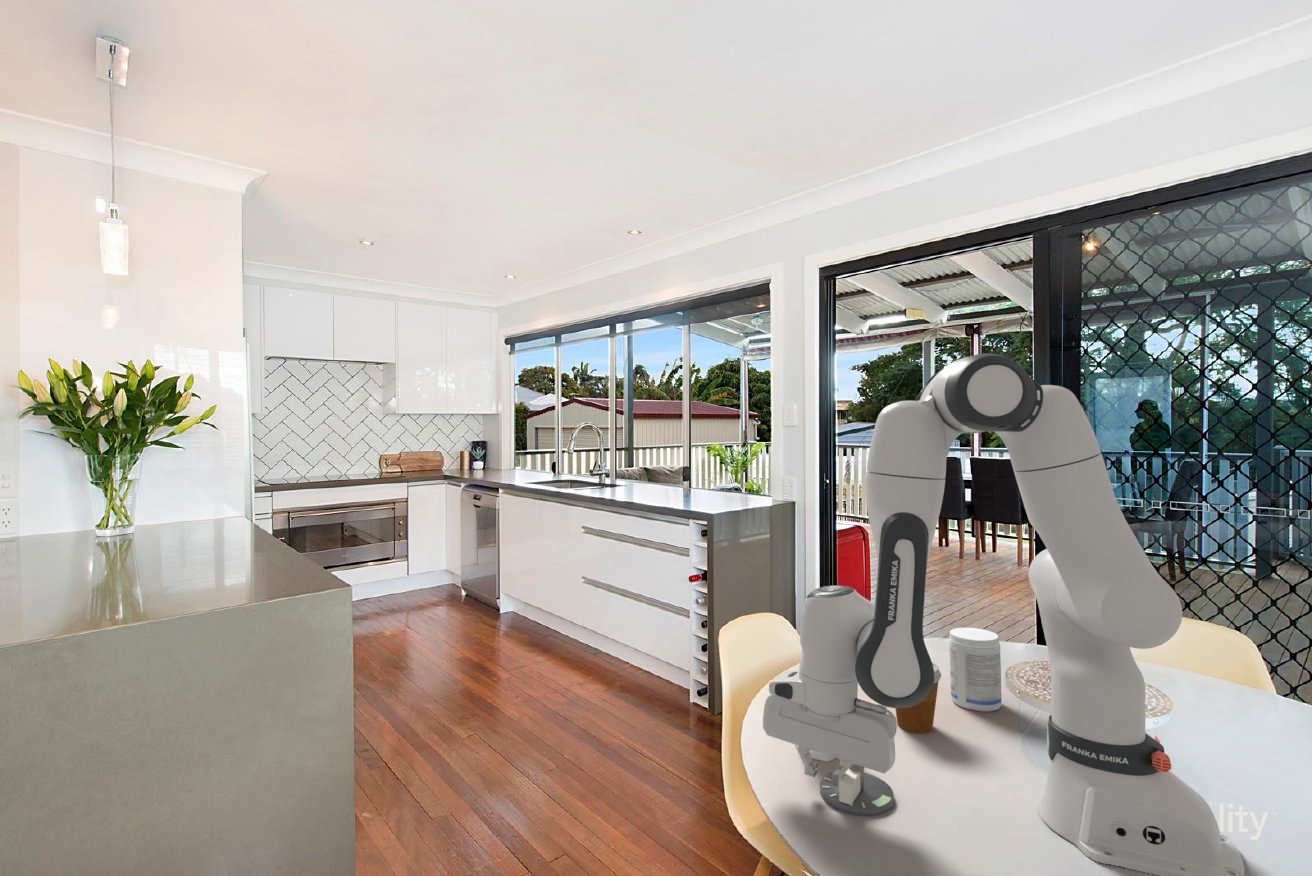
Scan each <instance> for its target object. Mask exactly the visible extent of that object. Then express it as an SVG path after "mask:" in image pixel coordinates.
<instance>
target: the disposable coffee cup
mask: <svg viewBox="0 0 1312 876" xmlns="http://www.w3.org/2000/svg"><path fill="white" fill-rule="evenodd" d="M932 664H933V668H934V684H933V687H932V689H931V691H930V693H929V694H928V696H927V697H926V698H925V699H924V700H923V701H921V702H920V703H918V704H916V705H914V706H911V707H907V708H894V709H895V715H896V716H895V717H896V721H897V727H899V729H901V730H903V731H905V732H908V733H912V734H921V735H923V734H930V733H931V732H932V731H933V728H934V721H935V713H936V712H935V711H936V703H937V696H938V690H939V689H938V688H939V681H940V680H941V678H942V673H941V671H940V669H939V665H937V664H936V663H935V662H933V661H932Z"/></svg>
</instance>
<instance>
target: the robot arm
mask: <svg viewBox="0 0 1312 876" xmlns="http://www.w3.org/2000/svg"><path fill="white" fill-rule="evenodd" d="M984 432H987V433H988V432H991V433H992V432H993V433H995V434H996V435H997V436H998V437H999V438H1000V440H1002V442H1003V444H1004V445H1005V448H1006V449H1007V450H1008V455H1009V459H1010V463H1011V466H1012V469H1013V473H1014V476H1015V480H1016V484H1017V487H1018V489H1019V493H1020V496H1021V500H1022V503H1023V507H1024V509H1025V513H1026V515H1027V520H1028V521H1029V523H1030V525H1031V526H1032V528H1033V529H1034V530H1035V531H1036V533H1037V534H1038V535H1039V538H1040V539H1041V541H1042V542H1043V545H1045V549H1043V550H1042V551H1040V552H1039V553H1038V554H1036V555H1035V557H1033V559H1032V561H1031V563H1030V565H1029V568H1028V582H1029V585H1030V588H1031V590H1033V593H1034V596H1035V598H1036V601H1037V605H1038V610H1039V615H1040V619H1041V620H1040V621H1041V625H1042V630H1043V633H1044V639H1045V644H1046V647H1047V652H1048V659H1049V667H1050V694H1051V695H1050V698H1051V699H1050V700H1051V703H1050V704H1051V707H1050V708H1051V709H1050V710H1051V714H1050V715H1049V716H1048V721H1047V726H1046V744H1047V746H1046V747H1047V749H1046V750H1047V752H1048V753H1047V754H1048V757H1049V765H1048V773H1047V779H1046V784H1045V788H1044V792H1043V797H1042V799H1041V802H1040V805H1039V809H1038V811H1039V815H1040V817H1041V819H1042V820H1043V821H1044V823H1045V824H1046V825H1047V826H1048V827H1049V828H1050V829H1052V831H1054V832H1055V833H1056V834H1058V835H1060V836H1061V837H1062V838H1064V839H1066V840H1067V841H1069V842H1071V843H1072V844H1074V845H1075V846H1076V847H1078V849H1079V850H1081V852H1082V853H1083V855H1085V856H1087V857H1088V858H1089V857H1090V858H1091V860H1092V861H1095V862H1097V863H1101V864H1106V865H1109V864H1112V865H1111V866H1114V865H1115V866H1114V867H1118V866H1121V867H1120V868H1123V867H1124V869H1129V870H1133V871H1137V872H1141V873H1147V874H1151V875H1156V876H1246V872H1245V865H1244V861H1243V857H1242V856H1241V853H1240V851H1239V849H1238V848H1237V846H1236V845H1235V844H1234V843H1233V841H1232V840H1231V839H1230V838H1229V837H1228V836H1227V835H1225V834H1224V833H1223V832H1222V831H1220V829H1219V824H1218V823H1217V819H1216V816H1215V815H1214V812H1213V810H1212V809H1211V807H1210V806H1209V804H1208V802H1207V801H1206V800H1205V799H1204V797H1203V796H1202V795H1201V794H1200V793H1199V792H1197V791H1196V790H1195V789H1194V788H1192V787H1191V786H1189V784H1187V783H1186V782H1185V781H1183V780H1182V779H1180V777H1179V776H1177V775H1176V774H1175V773H1173V772H1172V771H1171V770H1172V763H1171V759H1170V757H1169V756H1168V754H1167V753H1165V747H1164V746H1163V744H1161V741H1160V740H1159V737H1157V735H1154V738H1153V737H1152V736H1150V734H1147V733H1146V682H1145V678H1144V676H1143V673H1142V671H1141V670H1140V668H1139V666H1138V665H1137V663H1136V661H1135V658H1134V655H1133V653H1132V650H1131V648H1132V649H1138V650H1141V649H1142V650H1143V649H1146V650H1147V649H1153V648H1157V647H1161V646H1162V645H1164V644H1165V643H1167V642H1169V641H1170V640H1171V639H1172V638H1173V637H1174V636H1176V633H1178V631H1179V629H1180V626H1181V624H1182V620H1183V607H1182V604H1181V600H1180V597H1179V596H1178V595H1177V593H1176V591H1175V590H1174V589H1173V588H1172V587H1171V585H1169V583H1167V581H1165V580H1164V579H1163V578H1162V576H1161V575H1160V574H1159V573H1158V571H1157V570H1156V568H1155V567H1154V566H1153V565H1152V563H1151V561H1150V559H1149V557H1148V556H1147V555H1146V552H1145V551H1144V549H1143V547H1142V546H1141V544H1140V542H1139V540H1138V539H1137V536H1136V535H1135V533H1134V532H1133V530H1132V528H1131V527H1130V525H1129V523H1128V522H1127V520H1126V518H1125V515H1124V514H1123V512H1122V509H1121V507H1120V505H1119V503H1118V500H1117V497H1116V495H1115V491H1114V489H1113V485H1112V483H1111V478H1110V476H1109V473H1108V470H1107V467H1106V463H1105V461H1104V457H1103V454H1102V451H1101V448H1100V445H1099V441H1098V438H1097V437H1096V434H1095V432H1094V429H1093V426H1092V425H1091V422H1090V420H1089V418H1088V416H1087V414H1086V412H1085V410H1084V408H1083V407H1082V405H1081V403H1080V401H1079V399H1078V398H1077V397H1076V395H1075V394H1074V393H1073V392H1072V391H1071V390H1070V389H1068V388H1066V387H1063V386H1061V385H1056V384H1055V385H1053V384H1042V385H1041V384H1039V382H1037V381H1036V380H1034V378H1032V376H1031V375H1029V374H1028V373H1027V371H1026V370H1025V369H1024V368H1023V367H1022V366H1021V365H1020V364H1018V363H1017V362H1016V361H1014V360H1013V359H1011V358H1009V357H1007V356H1004V355H1001V354H997V353H978V354H974V355H971V356H966V357H963V358H960V359H957V360H954V361H952V362H950V363H949V364H948V365H946V366H945V367H943V368H940V369H939V370H938V371H937V372H935V373H933V375H932V376H931V377H930V378H929V379H928V380H927V381H926V383H925V384H924V386H923V388H922V389H921V390H920V392H919V393H918V394H917V396H916V397H915V399H914V400H900V401H897V402H893V403H890V404H888V405H886V406H885V407H884V408H883V409H882V410H881V411H880V413H879V414H878V415H877V419H876V422H875V425H874V428H873V432H872V436H871V440H870V445H869V452H868V457H867V465H866V473H865V475H866V476H865V497H866V498H865V501H866V511H867V518H868V522H869V525H870V528H871V532H872V536H873V541H874V544H875V551H876V552H875V553H876V559H877V572H876V573H877V575H876V584H875V585H876V588H875V598H874V599H875V601H874V602H872V601H871V600H869V599H868V598H865V597H864V596H862V595H861V594H860V593H859V592H857V590H856V589H854V588H853V587H851V586H848V585H840V584H837V585H836V584H835V585H824V586H821V587H818V588H815V589H813V590H812V591H810V592H809V593H808V594H807V596H806V597H805V599H804V602H803V606H802V610H801V611H802V612H801V620H800V633H799V634H800V635H799V637H800V638H799V643H800V647H801V654H802V655H801V659H800V662H799V663H800V664H799V667H798V668H799V669H793V670H792V669H790V670H786V671H783V672H781V673H780V674H778V675H776V676H775V677H774V678H773V679H772V680H771V681H770V682H769V683H768V692H769V694H770V695H768V696H767V698H766V699H765V702H764V707H763V716H762V729H763V730H764V732H765V734H766V736H768V737H771V738H775V739H776V740H777V739H778V740H780V741H784V742H787V743H790V744H792V745H794V746H796V745H798V749H797V752H798V754H799V756H800V759H801V760H802V762H803V764H804V775H806V776H808V777H812V778H815V777H816V776H817V774H818V765H819V764H818V763H819V762H817V761H814V759H812V757H811V755H810V752H809V750H810V749H811V750H814V751H817V752H820V753H823V754H826V755H829V756H832V757H835V759H839V766H840V767H842V768H841V769H838V768H835V769H834V771H832V772H833V773H832V779H833V780H832V784H834V785H837V786H839V781H840V779H841V778H842V777H843V775H844V774H845V773H846V771H847V770H848V769H849V767H850V766H851V765H852V763H853V764H856V765H859V766H862V767H864V769H865V768H866V769H869V770H872V771H875V772H878V773H881V774H886V773H887V772H889V771H890V770H891V768H893V767H894V764H895V762H896V744H895V743H896V742H895V736H896V735H897V729H898V728H897V727H898V724H897V716H895V714H894V713H893V712H892V711H890V710H889V709H888V708H891V709H895V708H907V707H911V706H914V705H916V704H918V703H920V702H921V701H923V700H924V699H925V698H926V697H927V696H928V694H929V693H930V691H931V689H932V687H933V684H934V668H933V664H932V662H933V661H932V659H931V656H930V653H929V651H928V649H927V646H926V644H925V638H924V613H925V612H924V610H925V597H926V595H925V594H926V584H927V583H926V582H927V581H926V579H927V571H928V569H927V568H928V561H929V557H930V552H931V547H932V544H933V540H934V536H935V532H936V528H937V525H938V521H939V517H940V513H941V510H942V504H943V500H944V493H945V486H946V475H947V457H948V455H949V451H950V448H951V446H952V444H953V443H954V441H955V440H957V438H958V437H959V436H960V435H962V434H979V433H984ZM858 687H860V688H861V690H862V691H863V693H864V694H866V696H867V697H868V698H869V699H871V700H872V701H874V702H875V703H872V702H870V701H867V700H865V699H864V700H863V699H860V698H858V692H859V691H858V689H859V688H858ZM876 703H877V704H876ZM1090 858H1089V859H1090Z"/></svg>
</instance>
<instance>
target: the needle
mask: <svg viewBox="0 0 1312 876" xmlns="http://www.w3.org/2000/svg"><path fill="white" fill-rule="evenodd" d="M864 773H865V767H862V766H859V765H856V764H853V763H852V765H851V766H850V767H849V769H848V770H847V771H846V773H845V774H844V775H843V777H842V778H841V779H840V781H839V801H840V802H843V803H846V804H850V805H852V803H853V802H854V800H855V799H856V797H857V795H858V794H859V792H860V791H862V790H864Z"/></svg>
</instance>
